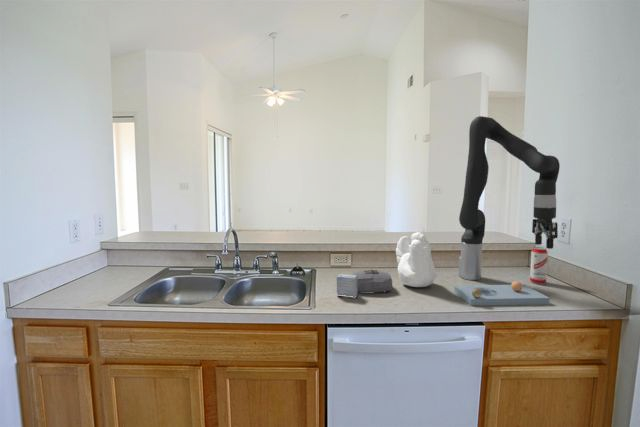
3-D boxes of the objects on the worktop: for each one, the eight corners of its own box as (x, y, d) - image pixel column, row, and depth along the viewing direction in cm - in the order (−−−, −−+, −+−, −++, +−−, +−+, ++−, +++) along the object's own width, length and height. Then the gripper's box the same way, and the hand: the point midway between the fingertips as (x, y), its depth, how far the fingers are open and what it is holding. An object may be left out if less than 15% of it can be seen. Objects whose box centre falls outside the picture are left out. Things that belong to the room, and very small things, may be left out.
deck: (524, 290, 146) (524, 284, 146) (549, 304, 130) (549, 297, 130) (454, 291, 146) (454, 285, 146) (470, 305, 130) (470, 299, 130)
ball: (508, 290, 139) (509, 280, 138) (515, 288, 140) (515, 279, 140) (518, 293, 135) (518, 283, 135) (524, 291, 137) (524, 282, 136)
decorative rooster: (442, 290, 147) (443, 234, 144) (407, 292, 145) (407, 235, 142) (419, 274, 172) (420, 225, 169) (389, 275, 170) (389, 226, 167)
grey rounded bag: (386, 283, 159) (344, 284, 158) (387, 265, 158) (344, 267, 157) (395, 294, 144) (348, 296, 143) (395, 275, 143) (348, 276, 142)
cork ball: (469, 296, 132) (469, 288, 132) (475, 295, 134) (476, 286, 133) (477, 299, 129) (477, 290, 129) (483, 298, 131) (484, 289, 130)
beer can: (548, 285, 152) (550, 249, 150) (533, 284, 153) (534, 249, 151) (542, 280, 158) (544, 246, 156) (527, 280, 159) (529, 246, 157)
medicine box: (357, 295, 144) (357, 275, 143) (355, 298, 139) (355, 278, 138) (339, 293, 146) (339, 273, 145) (336, 296, 142) (336, 276, 141)
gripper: (526, 205, 143) (525, 243, 144) (544, 207, 129) (543, 250, 130) (545, 204, 142) (544, 243, 143) (565, 207, 128) (564, 249, 129)
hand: (543, 246), depth 137 cm, fingers open, 8 cm apart
